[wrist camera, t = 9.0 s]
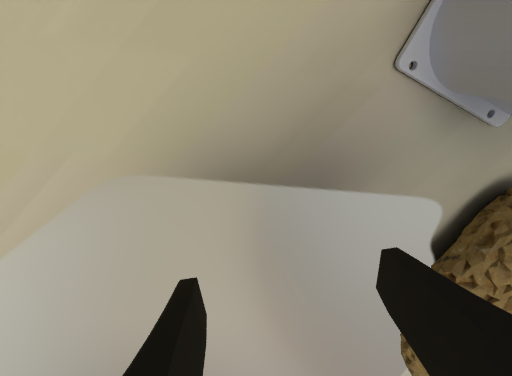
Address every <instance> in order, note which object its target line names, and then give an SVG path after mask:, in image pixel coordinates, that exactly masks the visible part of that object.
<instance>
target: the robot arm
mask: <svg viewBox="0 0 512 376" xmlns="http://www.w3.org/2000/svg"><path fill="white" fill-rule="evenodd" d="M411 62H413V67H412V68H411V69H409V64H410V63H411ZM395 66H396V68H397V69H398V70H399V71H401V72H402V73H404V74H406V75H407V76H409V77H411V78H412V79H414V80H416V81H417V82H419V83H421V84H422V85H424V86H426V87H427V88H429V89H431V90H432V91H434V92H436V93H437V94H439V95H441V96H442V97H444V98H446V99H447V100H449V101H451V102H452V103H454V104H456V105H457V106H459V107H461V108H462V109H464V110H466V111H467V112H469V113H471V114H472V115H474V116H476V117H477V118H479V119H481V120H482V121H484V122H486V123H487V124H489V125H491V126H494V127H500V126H502V125H503V124H504V123H505V122H506V121H507V120H508V118H509V117H510V116H511V115H512V0H431V2H430V4H429V5H428V7H427V9H426V10H425V12H424V14H423V15H422V17H421V19H420V20H419V22H418V24H417V25H416V27H415V29H414V30H413V32H412V34H411V35H410V37H409V39H408V40H407V42H406V44H405V45H404V47H403V49H402V50H401V52H400V54H399V55H398V57H397V59H396V62H395ZM489 111H490V112H489ZM488 112H489V114H488ZM487 114H488V115H487ZM376 289H377V291H378V293H379V295H380V297H381V299H382V301H383V303H384V305H385V307H386V309H387V311H388V313H389V314H390V316H391V318H392V319H393V321H394V322H395V324H396V325H397V327H398V329H399V330H400V332H401V333H402V335H403V336H404V338H405V339H406V341H407V342H408V344H409V345H410V347H411V348H412V350H413V351H414V353H415V354H416V356H417V357H418V359H419V361H420V362H421V364H422V365H423V367H424V368H425V370H426V371H427V373H428V374H429V376H512V314H511V313H509V312H507V311H505V310H503V309H501V308H499V307H497V306H495V305H493V304H492V303H490V302H488V301H486V300H484V299H483V298H481V297H479V296H477V295H475V294H473V293H472V292H470V291H468V290H467V289H465V288H463V287H461V286H460V285H458V284H456V283H455V282H453V281H451V280H450V279H448V278H446V277H445V276H443V275H441V274H440V273H438V272H436V271H435V270H433V269H431V268H430V267H428V266H426V265H425V264H423V263H422V262H420V261H419V260H417V259H415V258H414V257H412V256H410V255H409V254H407V253H405V252H404V251H402V250H400V249H399V248H397V247H396V248H390V249H383V250H382V251H381V257H380V264H379V271H378V277H377V284H376ZM206 320H207V314H206V311H205V307H204V303H203V299H202V296H201V291H200V288H199V284H198V280H197V278H190V279H183V280H180V281H179V282H178V284H177V286H176V288H175V290H174V292H173V294H172V296H171V298H170V300H169V302H168V303H167V305H166V307H165V309H164V311H163V312H162V314H161V316H160V318H159V319H158V321H157V323H156V324H155V326H154V328H153V330H152V331H151V333H150V335H149V336H148V338H147V340H146V341H145V343H144V344H143V346H142V347H141V349H140V350H139V352H138V353H137V355H136V356H135V358H134V360H133V361H132V363H131V364H130V366H129V367H128V368H127V370H126V371H125V373H124V374H123V376H203V368H204V359H205V350H206V327H207V326H206V325H207V322H206Z"/></svg>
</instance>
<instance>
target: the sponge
mask: <svg viewBox="0 0 512 376" xmlns="http://www.w3.org/2000/svg"><path fill="white" fill-rule="evenodd" d="M431 269H433V270H435V271H436V272H438V273H440V274H441V275H443V276H445V277H446V278H448V279H450V280H451V281H453V282H455V283H456V284H458V285H460V286H461V287H463V288H465V289H467V290H468V291H470V292H472V293H473V294H475V295H477V296H479V297H481V298H483V299H484V300H486V301H488V302H490V303H492V304H493V305H495V306H497V307H499V308H501V309H503V310H505V311H507V312H509V313H511V314H512V188H511V189H509V190H506V194H505V195H501V196H498V197H497V198H496V199H495V200H494V201H493V202H491V203H490V204H488V205H487V206H486V207H485V208H484V209H482V210H481V211H480V212H479V213H478V214H477V216H476V217H475V218H474V219H473V220H472V222H471V223H470V224H469V225H467V226H466V227H465V228H464V229H463V231H462V232H461V235H460V236H459V238H458V239H457V241H456V242H455V243H454V244H453V245H452V246H451V247H450V248H449V249H448V250H447V251H446V252H445V253H444V254H443V256H442V257H441V258H439V259H438V260H437V261H436V262H435V263H434V264H433V265H432V266H431ZM400 335H401V354H402V356H403V359H404V361H405V364H406V366H407V368H408V369H409V371H410V373H411V375H412V376H429V374H428V373H427V371H426V370H425V368H424V367H423V365H422V364H421V362H420V361H419V359H418V357H417V356H416V354H415V353H414V351H413V350H412V348H411V347H410V345H409V344H408V342H407V341H406V339H405V338H404V336H403V335H402V333H401V334H400Z"/></svg>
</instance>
